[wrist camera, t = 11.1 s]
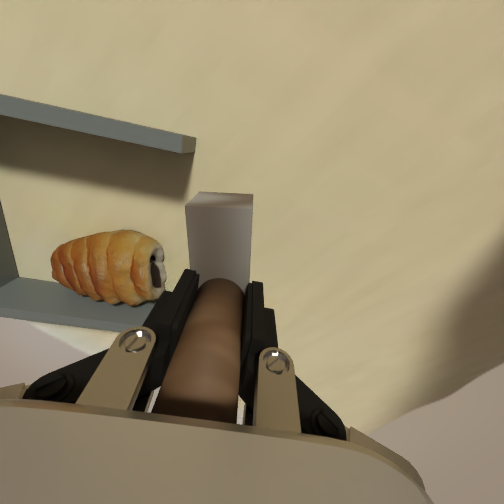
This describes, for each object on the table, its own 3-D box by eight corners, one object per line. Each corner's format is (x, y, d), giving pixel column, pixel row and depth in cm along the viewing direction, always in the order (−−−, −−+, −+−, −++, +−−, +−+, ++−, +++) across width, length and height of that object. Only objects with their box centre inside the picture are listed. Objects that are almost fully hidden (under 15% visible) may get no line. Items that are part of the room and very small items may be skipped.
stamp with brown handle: (253, 194, 13) (249, 289, 5) (247, 327, 17) (239, 493, 9) (199, 191, 13) (104, 282, 5) (207, 326, 17) (164, 491, 9)
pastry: (75, 290, 23) (44, 316, 19) (52, 224, 20) (11, 241, 16) (172, 291, 23) (158, 316, 19) (162, 226, 20) (145, 242, 17)
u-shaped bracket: (196, 137, 17) (182, 135, 13) (180, 308, 23) (168, 338, 20) (-45, 83, 15) (-136, 64, 12) (9, 284, 22) (-38, 311, 18)
